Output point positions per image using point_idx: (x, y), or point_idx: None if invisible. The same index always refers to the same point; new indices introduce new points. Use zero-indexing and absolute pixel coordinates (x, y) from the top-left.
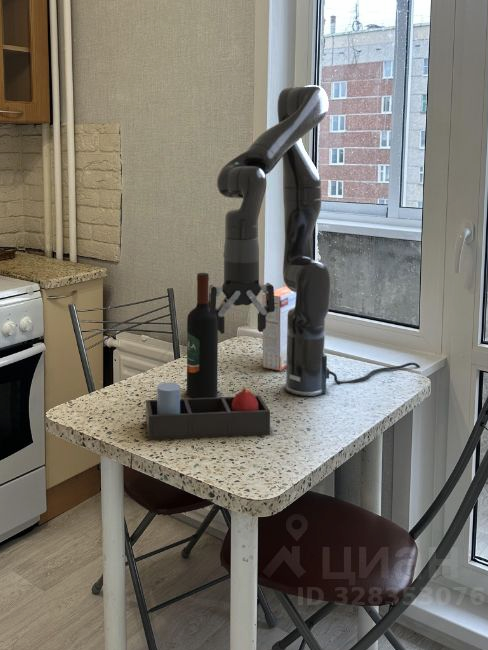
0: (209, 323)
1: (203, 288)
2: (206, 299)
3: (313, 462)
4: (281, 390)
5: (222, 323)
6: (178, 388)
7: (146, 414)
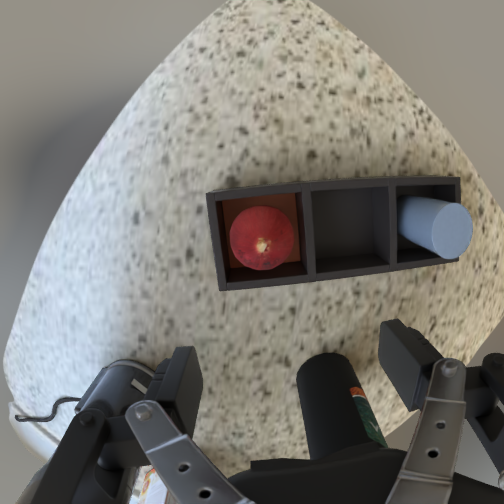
0: None
1: None
2: None
3: (153, 81)
4: None
5: (413, 342)
6: (436, 218)
7: None
